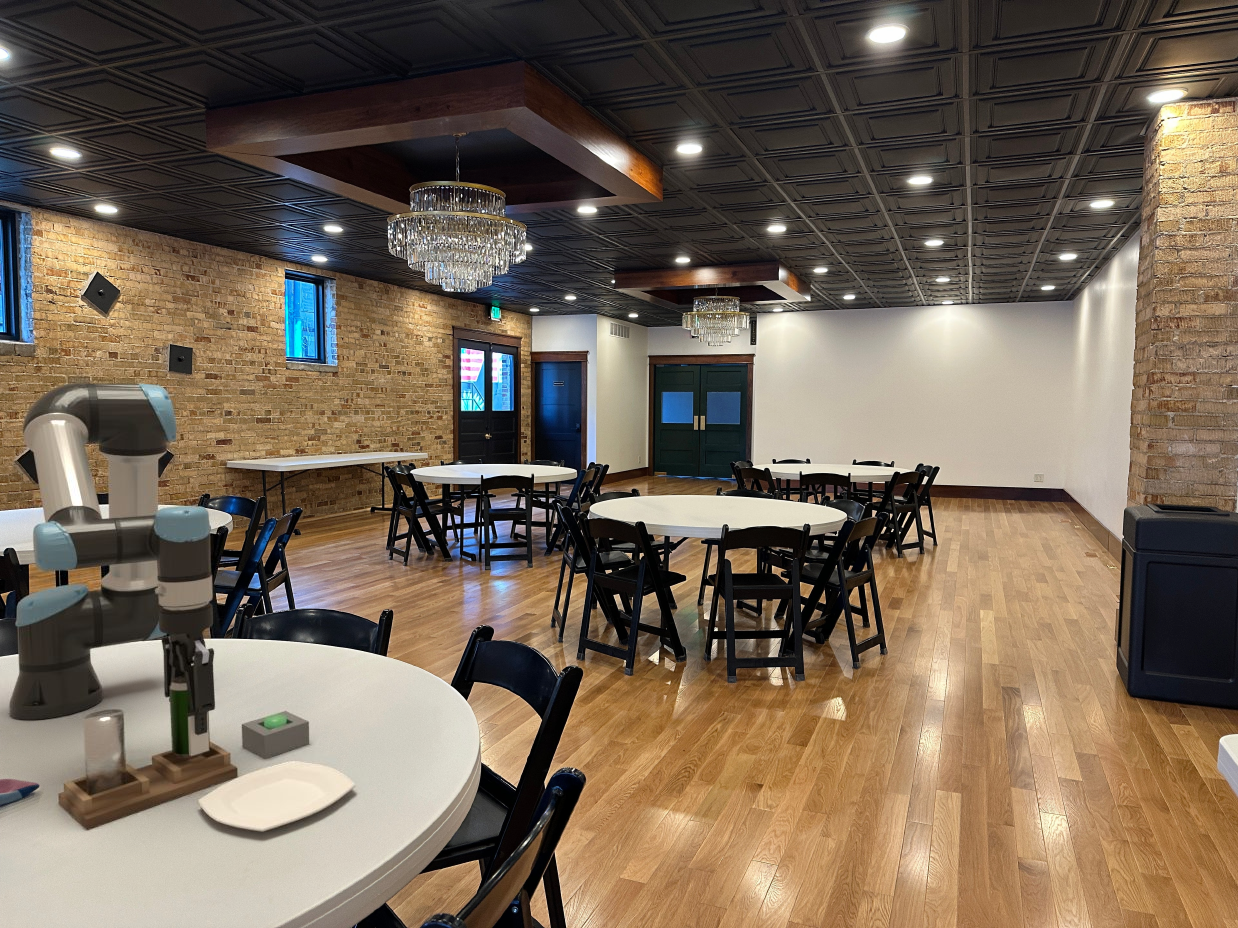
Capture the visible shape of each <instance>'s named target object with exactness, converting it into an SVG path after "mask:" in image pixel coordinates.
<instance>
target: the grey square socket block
mask: <svg viewBox="0 0 1238 928" xmlns="http://www.w3.org/2000/svg"><path fill="white" fill-rule="evenodd" d="M277 714H282V715H286V721H287V724H286V725H283V726H280V727H277V728H274V729H271V730H269V729H267V728H265V727H264V719H265V718H266V717H268V716H271V715H272V714H271V715H267V716H265V717H260V718H258V719H254V720H251V721H247V722H245V723H242V724H241V744H242V746H241V747H243V748H244V749H246V750H248V751H249V752H252V753H253V754H255V755H257V756H259V757H261V758H262V759H264V760H266V759H269V758H271V757H275V756H278V755H280V754H281V755H282V754H284V753H286V752H289V751H292V750H295V749H299V748H301V747H304V746H307V745H309V744H310V722H309V721H308V720H306V719H304V718H302V717H299V716H298V715H296V714H293V713H290V712H288V711H287V710H284V711H281V712H278V713H274V714H273V715H277Z"/></svg>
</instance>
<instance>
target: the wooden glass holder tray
mask: <svg viewBox="0 0 1238 928" xmlns="http://www.w3.org/2000/svg"><path fill="white" fill-rule="evenodd" d="M231 761H232V760H231V752H229V751H227V750H226V749H225V748H222V747H221V746H219V745H217V744H216V743H214V742H212V741H210V746H209V751H206V752H205V753H203V754H201V755H199V756H195V757H190V758H178V757H175V755H174V754H173V752H172V749H171V750H168V751H165V752H161V753H158V754H155V755H152V756H151V764H148V765H145V766H142V767H139V768H136V769H135V767H132V766H131V765H130V764H129V763H126V781H127V784H125V785H122V786H119V787H116V788H113V789H110V790H107V791H104V792H101V793H98V794H94V795H91V796H89V795H87V788H86V776H83V777H79V778H76V779H73V780H71V781H67V782H64V783H63V792H62V791H61V792H59V793H58V795H57V797H58V798H57V799H58V804H59V806H61V807H62V808H63V809H64V810H66V812H68V814H69V815H70V816H71V817H73V818H74V819H75V820H76V821H77V823H79V824H80V825H82V827H84V829H86V831H87V830H90V829H93V828H96V827H100V826H102V825H105V824H108V823H111V822H113V821H116V820H118V819H121V818H124V817H127V816H130V815H134V814H136V813H138V812H139V813H140V812H141V811H146V810H148V809H150V808H152V807H155V806H158V805H161V804H164V803H167V802H170V801H172V800H176V799H178V798H182V797H183V796H184V797H185V796H186V795H190V794H192V793H196V792H199V791H201V790H204V789H207V788H210V787H214V786H215V785H218V784H221V783H224V782H227V781H229V780H230V781H231V780H234V779H236V778H238V774H239V773H238V772H239V771H238V767H237V766H235V765H234V764H232V762H231Z"/></svg>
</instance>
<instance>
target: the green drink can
mask: <svg viewBox="0 0 1238 928" xmlns="http://www.w3.org/2000/svg"><path fill="white" fill-rule="evenodd" d="M169 690H170V701H169V707H170V708H169V711H170V735H171V750H172V752H173V754H174V755H175V757H178V758H190V757H195V756H199V755H201V754H203V753H205V752H203V753H200V754H196V755H193V756H190V755H189V735H188V717H187V716H186V713H188V712H191V711H190V704H189V697H188V691H187V684H186V677H185V675H184V676H179V677H175V678H173V679H172V680H171V685H170V688H169ZM209 713H210V711H208V733H209V746H210V742H211V738H210V737H211V736H210V735H211V733H210V714H209Z"/></svg>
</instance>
